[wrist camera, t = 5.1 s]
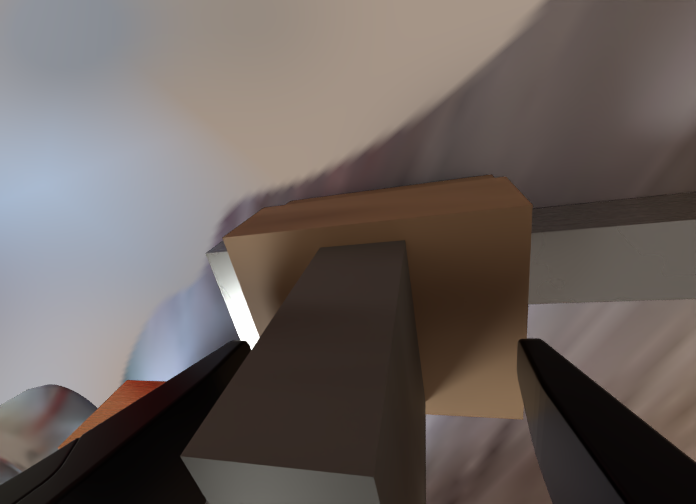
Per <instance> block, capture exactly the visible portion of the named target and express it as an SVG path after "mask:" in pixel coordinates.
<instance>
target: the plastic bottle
mask: <svg viewBox="0 0 696 504" xmlns="http://www.w3.org/2000/svg"><path fill="white" fill-rule="evenodd" d="M96 410H97V407H96V406H94V405H93V404H92V403H91V402H90V401H89V400H87V399H86V398H84V397H83V396H81V395H80V394H78V393H76V392H74V391H72V390H70V389H68V388H65V387H62V386H58V385H44V386H41V387H36V388H32V389H28V390H26V391H24V392H22V393H21V394H19V395H17V396H16V397H14V398H12V399H11V400H9V401H7V402H5V403H4V404H2V405H0V485H1V484H2V483H4V482H6V481H8V480H9V479H11V478H13V477H14V476H16V475H18V474H19V473H21V472H23V471H25V470H26V469H28V468H29V467H31V466H33V465H34V464H36V463H38V462H39V461H41V460H42V459H44V458H46V457H47V456H49V455H51V454H52V453H54V452H55V451H57V450H59V449H58V447H59V446H60V445H61V444H62V443H63V442H64V441H65V440H66V439H67V438H68V437H69V436H70V435H71V434H72V433H73V432H74V431H75V430H76V429H77V428H78V427H79V426H80V425H81V424H82V423H83V422H84V421H85V420H86V419H88V418H89V417H90V416H91V415H92V414H93V413H94V412H95V411H96Z"/></svg>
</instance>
